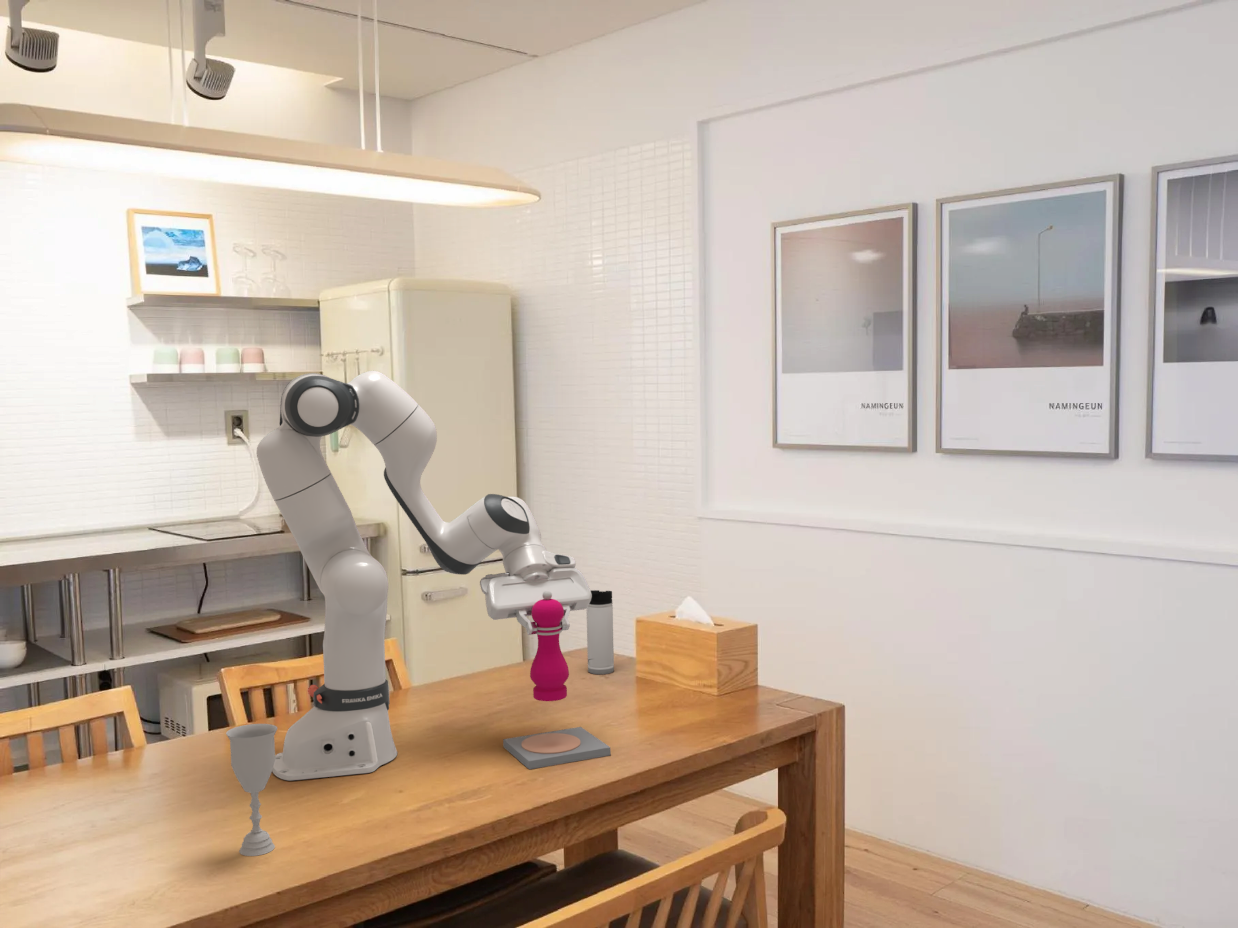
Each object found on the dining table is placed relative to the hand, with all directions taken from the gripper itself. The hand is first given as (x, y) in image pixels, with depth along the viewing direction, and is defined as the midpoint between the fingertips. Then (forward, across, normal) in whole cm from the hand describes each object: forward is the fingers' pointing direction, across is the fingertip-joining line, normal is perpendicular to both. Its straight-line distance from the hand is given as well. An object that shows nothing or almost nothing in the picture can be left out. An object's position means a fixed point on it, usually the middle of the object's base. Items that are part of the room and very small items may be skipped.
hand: (549, 630), depth 203 cm
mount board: (+16, +1, +17) cm, 23 cm away
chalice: (+30, -55, +2) cm, 63 cm away
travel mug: (-18, +32, +52) cm, 63 cm away
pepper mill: (+9, 0, +9) cm, 13 cm away
